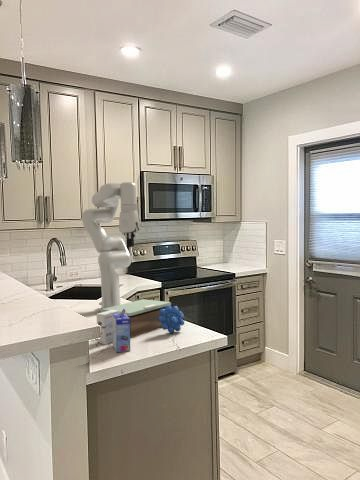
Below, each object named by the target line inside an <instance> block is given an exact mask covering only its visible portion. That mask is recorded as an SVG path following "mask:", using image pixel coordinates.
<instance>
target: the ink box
mask: <svg viewBox="0 0 360 480" xmlns="http://www.w3.org/2000/svg"><path fill="white" fill-rule="evenodd" d="M113 314H120V311H119V310H109V311H106V312H99V313H96V325H97V324H98V325H100V326H101V338H100V339H98V338H97V343H98V342H99V344H102V345H109V344H111V343H112V344H113Z"/></svg>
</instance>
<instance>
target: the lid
mask: <svg viewBox="0 0 360 480" xmlns="http://www.w3.org/2000/svg"><path fill="white" fill-rule="evenodd" d="M166 305H170V306H172V302H171V301H165V300H164V301H163V300H162V301H161V300H153V299H144V298H142V299H138V300H135V301H130V302H126V303H122V304H121V303H120V305H117V306H113V307H109V308H105V309H102V312H106V311H109V310H119V311H120V314H121V312H122V311H123V309H125V313H126V315H127V316H133V315H136V314H140V313H144V312H147V311H151V310H154V309H158V308H162V307H165V306H166ZM102 312H101V313H102ZM123 313H124V311H123Z"/></svg>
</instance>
